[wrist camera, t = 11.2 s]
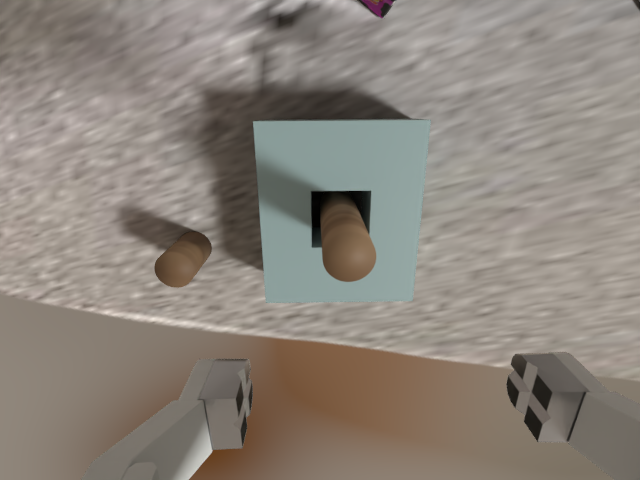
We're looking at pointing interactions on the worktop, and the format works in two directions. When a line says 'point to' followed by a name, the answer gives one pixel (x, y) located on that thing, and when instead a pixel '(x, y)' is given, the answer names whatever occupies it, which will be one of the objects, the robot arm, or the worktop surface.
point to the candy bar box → (379, 6)
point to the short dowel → (183, 259)
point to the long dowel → (344, 238)
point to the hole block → (340, 175)
